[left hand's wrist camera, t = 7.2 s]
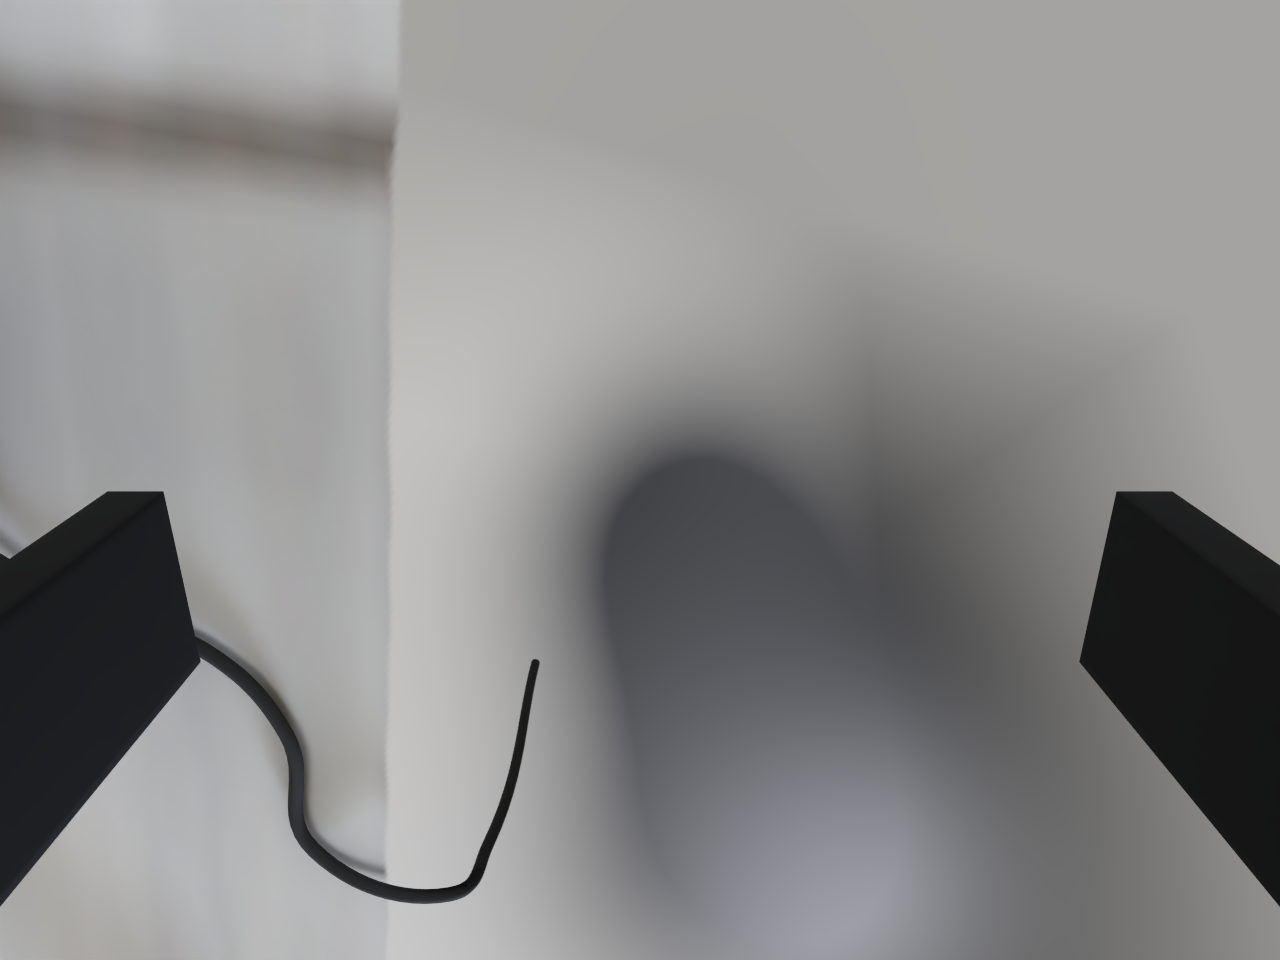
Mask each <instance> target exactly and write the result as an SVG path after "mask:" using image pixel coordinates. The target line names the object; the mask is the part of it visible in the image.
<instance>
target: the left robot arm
mask: <svg viewBox="0 0 1280 960" xmlns="http://www.w3.org/2000/svg"><path fill="white" fill-rule="evenodd" d="M200 657H201V658H202V659H204V660H205V661H207V662H208V663H210V664H211V665H213V666H214V667H216V668H217V669H219V670H220V671H221V672H223V673H224V674H225V675H227V676H228V677H229V678H230V679H232V680H233V681H234V682H235V683H236V684H237V685H238V686H240V687H241V688H242V689H243V690H244V691H245V692H246V693H247V694H248V695H249V696H250V697H251V699H252V700H253V701H254V702H255V703H256V704H257V706H258V707H259V708H260V709H261V711H262V712H263V713H264V715H265V716H266V718H267V719H268V720H269V722H270V723H271V725H272V726H273V728H274V730H275V731H276V733H277V734H278V736H279V738H280V740H281V742H282V744H283V746H284V748H285V752H286V755H287V759H288V766H289V791H288V815H289V821H290V826H291V828H292V831H293V833H294V836H295V838H296V840H297V841H298V843H299V844H300V846H301V847H302V848H303V850H304V851H305V852H306V853H307V854H308V855H309V856H310V857H311V858H312V859H313V860H315V861H316V862H317V863H318V864H319V865H320V866H322V867H323V868H324V869H326V870H327V871H328V872H330V873H331V874H333V875H334V876H336V877H337V878H339V879H340V880H342V881H344V882H345V883H347V884H349V885H351V886H353V887H355V888H357V889H359V890H361V891H364V892H366V893H369V894H372V895H374V896H378V897H381V898H385V899H389V900H394V901H399V902H406V903H419V904H430V903H442V902H449V901H454V900H457V899H460V898H463V897H465V896H466V895H468V894H470V893H471V892H472V891H473V890H474V889H475V888H476V887H477V886H478V884H479V883H480V881H481V879H482V877H483V875H484V872H485V869H486V866H487V863H488V860H489V857H490V854H491V852H492V849H493V847H494V845H495V842H496V840H497V838H498V835H499V833H500V831H501V829H502V826H503V823H504V821H505V818H506V815H507V812H508V810H509V807H510V803H511V800H512V797H513V794H514V790H515V787H516V783H517V779H518V775H519V771H520V766H521V762H522V756H523V751H524V746H525V740H526V734H527V728H528V722H529V716H530V710H531V704H532V698H533V693H534V687H535V682H536V677H537V673H538V669H539V665H540V662H539V660H537V659H533V660H532V661H531V665H530V669H529V673H528V678H527V682H526V687H525V692H524V697H523V702H522V708H521V713H520V719H519V725H518V730H517V736H516V741H515V746H514V751H513V755H512V760H511V764H510V768H509V773H508V776H507V780H506V783H505V787H504V790H503V793H502V796H501V799H500V802H499V805H498V808H497V810H496V813H495V815H494V818H493V820H492V823H491V825H490V827H489V830H488V832H487V834H486V836H485V838H484V841H483V843H482V845H481V847H480V850H479V852H478V855H477V858H476V861H475V864H474V867H473V869H472V871H471V873H470V875H469V877H468V878H467V879H466V880H465V881H464V882H462V883H461V884H458V885H456V886H452V887H448V888H440V889H412V888H404V887H398V886H394V885H390V884H386V883H383V882H380V881H377V880H374V879H372V878H369V877H367V876H365V875H363V874H360V873H358V872H357V871H355V870H353V869H351V868H349V867H348V866H346V865H345V864H343V863H342V862H340V861H339V860H337V859H336V858H335V857H333V856H332V855H331V854H330V853H328V852H327V851H326V850H325V849H324V848H323V847H321V846H320V845H319V844H318V843H317V841H316V840H315V839H314V838H313V837H312V836H311V834H310V833H309V831H308V829H307V827H306V824H305V821H304V815H303V787H304V764H303V757H302V752H301V749H300V746H299V742H298V740H297V738H296V736H295V734H294V732H293V730H292V728H291V727H290V725H289V723H288V722H287V720H286V718H285V717H284V715H283V714H282V712H281V711H280V709H279V708H278V706H277V705H276V703H275V702H274V701H273V699H272V698H271V697H270V696H269V694H268V693H267V692H266V691H265V690H264V688H263V687H262V686H261V685H260V684H259V683H258V682H257V681H256V680H255V679H254V678H253V677H252V676H251V675H250V674H249V673H248V672H246V671H245V670H244V669H243V668H242V667H241V666H239V665H238V664H237V663H236V662H234V661H233V660H232V659H230V658H229V657H228V656H226V655H225V654H223V653H222V652H220V651H219V650H217V649H216V648H214V647H213V646H211V645H210V644H208V643H206V642H204V641H203V640H201V639H199V638H197V637H196V636H195V634H194V630H193V625H192V620H191V616H190V611H189V607H188V602H187V597H186V593H185V588H184V584H183V579H182V575H181V570H180V565H179V561H178V556H177V552H176V547H175V543H174V538H173V533H172V529H171V524H170V520H169V515H168V510H167V506H166V501H165V497H164V492H106V493H105V494H103V495H102V496H100V497H99V498H98V499H96V500H95V501H93V502H92V503H90V504H89V505H87V506H86V507H84V508H83V509H82V510H80V511H79V512H77V513H76V514H74V515H73V516H71V517H70V518H68V519H67V520H66V521H64V522H63V523H61V524H60V525H58V526H57V527H55V528H54V529H52V530H51V531H50V532H48V533H47V534H45V535H44V536H42V537H41V538H39V539H38V540H36V541H35V542H34V543H32V544H31V545H29V546H28V547H26V548H25V549H23V550H22V551H21V552H19V553H18V554H16V555H15V556H13V557H12V558H10V559H8V558H7V557H5V556H4V555H2V554H0V906H1V905H2V904H3V902H4V901H5V900H6V899H7V898H8V896H9V895H10V894H11V893H12V892H13V890H14V889H15V888H16V887H17V885H18V884H19V883H20V882H21V881H22V879H23V878H24V877H25V876H26V874H27V873H28V872H29V871H30V870H31V868H32V867H33V866H34V865H35V863H36V862H37V861H38V860H39V859H40V857H41V856H42V855H43V854H44V852H45V851H46V850H47V849H48V848H49V846H50V845H51V844H52V843H53V841H54V840H55V839H56V838H57V837H58V835H59V834H60V833H61V832H62V830H63V829H64V828H65V827H66V826H67V824H68V823H69V822H70V821H71V819H72V818H73V817H74V816H75V815H76V813H77V812H78V811H79V810H80V808H81V807H82V806H83V805H84V804H85V802H86V801H87V800H88V799H89V797H90V796H91V795H92V794H93V793H94V791H95V790H96V789H97V788H98V787H99V785H100V784H101V783H102V782H103V780H104V779H105V778H106V777H107V776H108V774H109V773H110V772H111V771H112V769H113V768H114V767H115V766H116V765H117V763H118V762H119V761H120V760H121V758H122V757H123V756H124V755H125V754H126V752H127V751H128V750H129V749H130V747H131V746H132V745H133V744H134V743H135V741H136V740H137V739H138V738H139V736H140V735H141V734H142V733H143V732H144V730H145V729H146V728H147V727H148V725H149V724H150V723H151V722H152V721H153V719H154V718H155V717H156V716H157V714H158V713H159V712H160V711H161V710H162V708H163V707H164V706H165V705H166V703H167V702H168V701H169V700H170V699H171V697H172V696H173V695H174V694H175V693H176V691H177V690H178V689H179V688H180V686H181V685H182V684H183V683H184V682H185V680H186V679H187V678H188V677H189V675H190V674H191V673H192V672H193V671H194V669H195V668H196V667H197V666H198V664H199V663H200ZM1080 663H1081V664H1082V666H1083V667H1084V668H1085V669H1086V670H1087V672H1088V673H1089V674H1090V675H1091V677H1092V678H1093V679H1094V680H1095V682H1096V683H1097V684H1098V685H1099V686H1100V688H1101V689H1102V690H1103V691H1104V692H1105V694H1106V695H1107V696H1108V697H1109V699H1110V700H1111V701H1112V702H1113V703H1114V705H1115V706H1116V707H1117V708H1118V710H1119V711H1120V712H1121V713H1122V714H1123V716H1124V717H1125V718H1126V719H1127V721H1128V722H1129V723H1130V724H1131V725H1132V727H1133V728H1134V729H1135V730H1136V732H1137V733H1138V734H1139V735H1140V736H1141V738H1142V739H1143V740H1144V741H1145V743H1146V744H1147V745H1148V746H1149V747H1150V749H1151V750H1152V751H1153V752H1154V754H1155V755H1156V756H1157V757H1158V758H1159V760H1160V761H1161V762H1162V763H1163V765H1164V766H1165V767H1166V768H1167V769H1168V771H1169V772H1170V773H1171V774H1172V775H1173V777H1174V778H1175V779H1176V780H1177V782H1178V783H1179V784H1180V785H1181V786H1182V788H1183V789H1184V790H1185V791H1186V793H1187V794H1188V795H1189V796H1190V797H1191V799H1192V800H1193V801H1194V802H1195V804H1196V805H1197V806H1198V807H1199V808H1200V810H1201V811H1202V812H1203V813H1204V815H1205V816H1206V817H1207V818H1208V819H1209V821H1210V822H1211V823H1212V824H1213V826H1214V827H1215V828H1216V829H1217V830H1218V832H1219V833H1220V834H1221V835H1222V837H1223V838H1224V839H1225V840H1226V841H1227V843H1228V844H1229V845H1230V846H1231V848H1232V849H1233V850H1234V851H1235V852H1236V854H1237V855H1238V856H1239V857H1240V859H1241V860H1242V861H1243V862H1244V863H1245V865H1246V866H1247V867H1248V868H1249V870H1250V871H1251V872H1252V873H1253V874H1254V876H1255V877H1256V878H1257V879H1258V880H1259V882H1260V883H1261V884H1262V885H1263V887H1264V888H1265V889H1266V890H1267V892H1268V893H1269V894H1270V895H1271V896H1272V898H1273V899H1274V900H1275V901H1276V902H1277V904H1278V905H1279V906H1280V565H1278V564H1277V563H1275V562H1274V561H1273V560H1271V559H1270V558H1268V557H1267V556H1265V555H1264V554H1262V553H1261V552H1259V551H1258V550H1257V549H1255V548H1254V547H1252V546H1251V545H1249V544H1248V543H1246V542H1245V541H1243V540H1242V539H1241V538H1239V537H1238V536H1236V535H1235V534H1233V533H1232V532H1230V531H1229V530H1228V529H1226V528H1225V527H1223V526H1222V525H1220V524H1219V523H1217V522H1216V521H1214V520H1213V519H1212V518H1210V517H1209V516H1207V515H1206V514H1204V513H1203V512H1201V511H1200V510H1198V509H1197V508H1196V507H1194V506H1193V505H1191V504H1190V503H1188V502H1187V501H1185V500H1184V499H1182V498H1181V497H1180V496H1178V495H1177V494H1175V493H1174V492H1116V497H1115V501H1114V506H1113V511H1112V515H1111V520H1110V524H1109V529H1108V533H1107V538H1106V543H1105V547H1104V552H1103V556H1102V561H1101V565H1100V570H1099V575H1098V579H1097V584H1096V588H1095V593H1094V597H1093V602H1092V607H1091V611H1090V616H1089V621H1088V625H1087V630H1086V634H1085V639H1084V643H1083V648H1082V653H1081V657H1080Z"/></svg>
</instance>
